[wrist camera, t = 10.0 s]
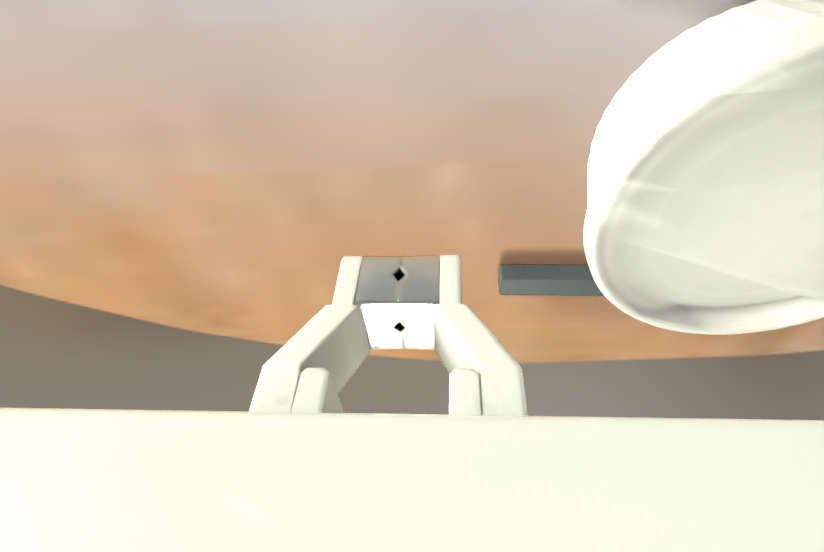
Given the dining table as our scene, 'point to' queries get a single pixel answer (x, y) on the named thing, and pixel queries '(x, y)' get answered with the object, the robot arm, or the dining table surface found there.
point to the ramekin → (716, 177)
